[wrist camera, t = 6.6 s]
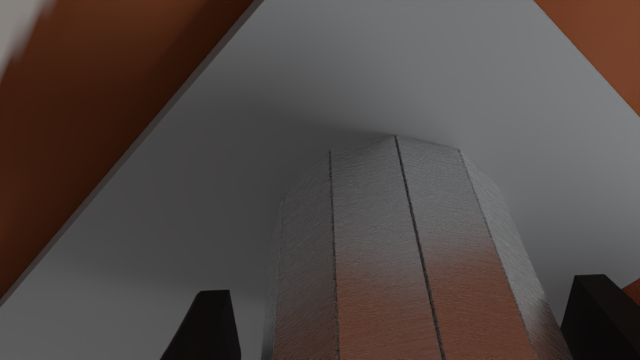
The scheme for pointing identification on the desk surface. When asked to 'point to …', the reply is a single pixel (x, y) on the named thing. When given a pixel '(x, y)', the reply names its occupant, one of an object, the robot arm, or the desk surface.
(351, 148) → the collar
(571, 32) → the desk surface
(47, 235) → the desk surface
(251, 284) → the duct board
